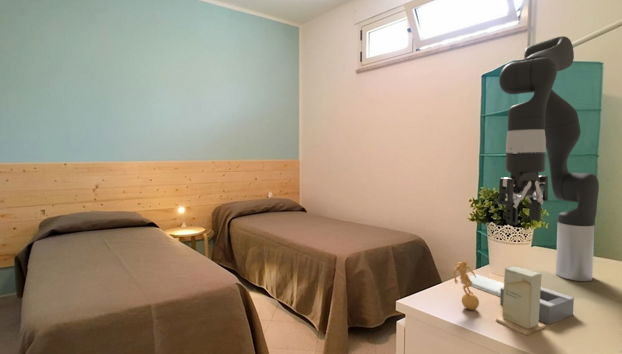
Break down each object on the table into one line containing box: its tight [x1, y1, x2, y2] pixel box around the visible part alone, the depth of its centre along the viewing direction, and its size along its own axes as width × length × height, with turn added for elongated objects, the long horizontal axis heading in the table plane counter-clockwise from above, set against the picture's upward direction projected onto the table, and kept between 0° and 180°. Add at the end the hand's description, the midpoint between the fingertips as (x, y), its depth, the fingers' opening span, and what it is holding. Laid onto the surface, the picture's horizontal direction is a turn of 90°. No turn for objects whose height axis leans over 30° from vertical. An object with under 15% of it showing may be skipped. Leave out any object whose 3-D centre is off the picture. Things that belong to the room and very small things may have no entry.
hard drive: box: [460, 273, 504, 297], centre depth 100 cm, size 2×8×12 cm
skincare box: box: [501, 265, 542, 329], centre depth 77 cm, size 6×4×12 cm
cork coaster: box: [495, 316, 546, 336], centre depth 78 cm, size 7×7×1 cm
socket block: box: [499, 286, 575, 325], centre depth 85 cm, size 10×12×4 cm
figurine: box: [452, 260, 480, 311], centre depth 86 cm, size 8×6×12 cm
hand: (523, 222), depth 76 cm, fingers open, 8 cm apart
